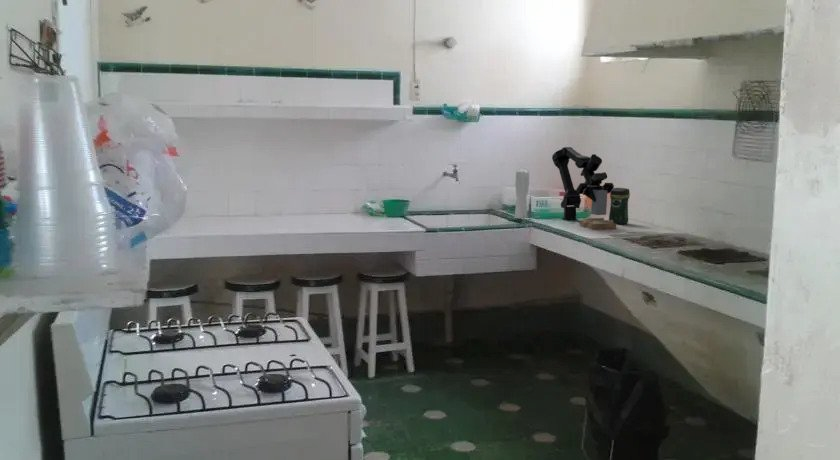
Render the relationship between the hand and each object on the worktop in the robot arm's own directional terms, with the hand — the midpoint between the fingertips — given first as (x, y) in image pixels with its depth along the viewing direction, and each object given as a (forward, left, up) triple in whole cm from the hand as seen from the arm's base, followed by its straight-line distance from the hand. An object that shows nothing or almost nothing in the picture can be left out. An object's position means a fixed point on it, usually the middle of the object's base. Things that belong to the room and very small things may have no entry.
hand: (600, 201), depth 378 cm
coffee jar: (-8, +20, -13) cm, 26 cm away
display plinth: (-1, 0, -13) cm, 13 cm away
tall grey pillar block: (-1, 0, -7) cm, 7 cm away
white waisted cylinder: (-39, -19, -14) cm, 46 cm away
